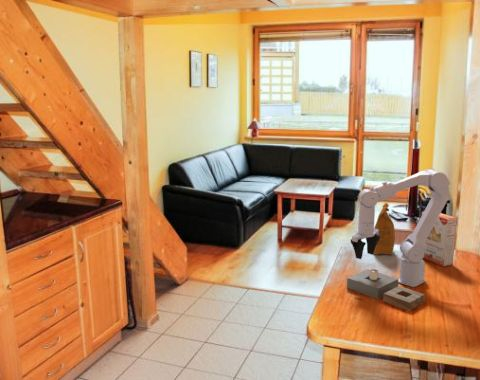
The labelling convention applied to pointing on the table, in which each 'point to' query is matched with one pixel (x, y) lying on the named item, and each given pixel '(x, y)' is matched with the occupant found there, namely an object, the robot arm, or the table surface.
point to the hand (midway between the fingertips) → (364, 256)
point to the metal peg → (373, 275)
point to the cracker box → (441, 241)
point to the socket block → (404, 298)
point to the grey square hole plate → (371, 284)
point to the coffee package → (385, 232)
